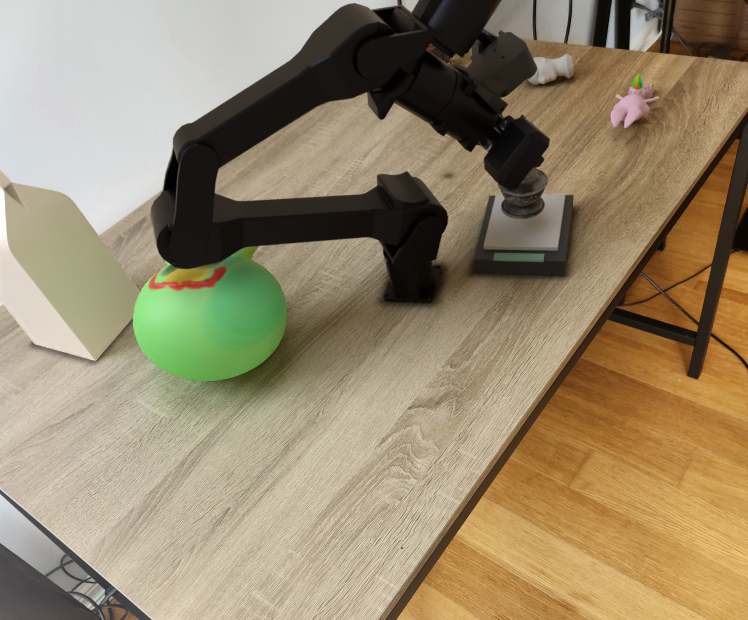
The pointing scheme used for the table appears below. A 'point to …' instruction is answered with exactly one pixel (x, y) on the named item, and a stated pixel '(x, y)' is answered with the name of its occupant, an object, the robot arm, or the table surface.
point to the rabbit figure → (633, 103)
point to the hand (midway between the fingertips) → (533, 155)
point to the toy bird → (211, 318)
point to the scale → (525, 239)
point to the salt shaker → (525, 196)
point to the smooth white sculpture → (552, 69)
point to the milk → (59, 273)
